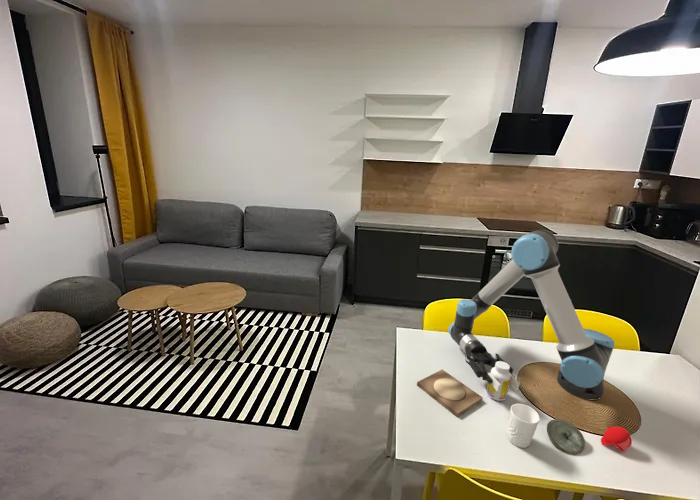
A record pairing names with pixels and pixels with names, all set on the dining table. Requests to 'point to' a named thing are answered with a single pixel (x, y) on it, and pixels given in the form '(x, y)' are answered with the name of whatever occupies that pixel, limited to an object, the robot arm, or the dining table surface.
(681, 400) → the dining table surface
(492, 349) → the dining table surface
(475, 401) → the walnut board
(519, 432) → the white cup
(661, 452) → the dining table surface
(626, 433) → the cap
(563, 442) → the lid
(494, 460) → the dining table surface
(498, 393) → the supplement bottle
